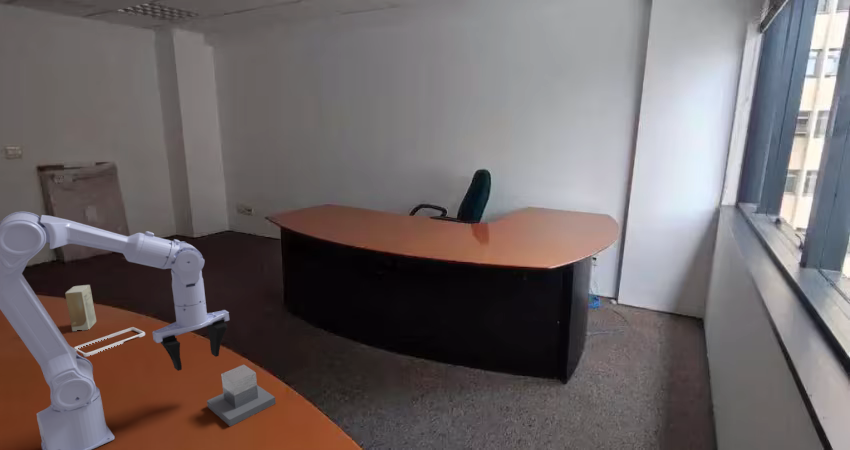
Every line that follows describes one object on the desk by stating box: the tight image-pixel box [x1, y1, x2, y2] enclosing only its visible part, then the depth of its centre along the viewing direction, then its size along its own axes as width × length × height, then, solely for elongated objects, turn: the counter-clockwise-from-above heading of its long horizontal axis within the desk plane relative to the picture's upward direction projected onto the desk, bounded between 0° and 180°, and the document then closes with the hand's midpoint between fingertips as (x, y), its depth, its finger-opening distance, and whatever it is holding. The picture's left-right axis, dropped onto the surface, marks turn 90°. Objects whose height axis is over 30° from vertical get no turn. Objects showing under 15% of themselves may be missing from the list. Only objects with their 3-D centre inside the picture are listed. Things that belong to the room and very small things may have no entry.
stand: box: [206, 384, 277, 427], centre depth 96 cm, size 10×10×2 cm
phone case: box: [73, 326, 146, 358], centre depth 125 cm, size 7×1×15 cm
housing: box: [220, 364, 258, 409], centre depth 95 cm, size 5×5×6 cm
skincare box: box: [64, 284, 97, 332], centre depth 134 cm, size 6×4×12 cm
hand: (197, 361), depth 96 cm, fingers open, 7 cm apart
